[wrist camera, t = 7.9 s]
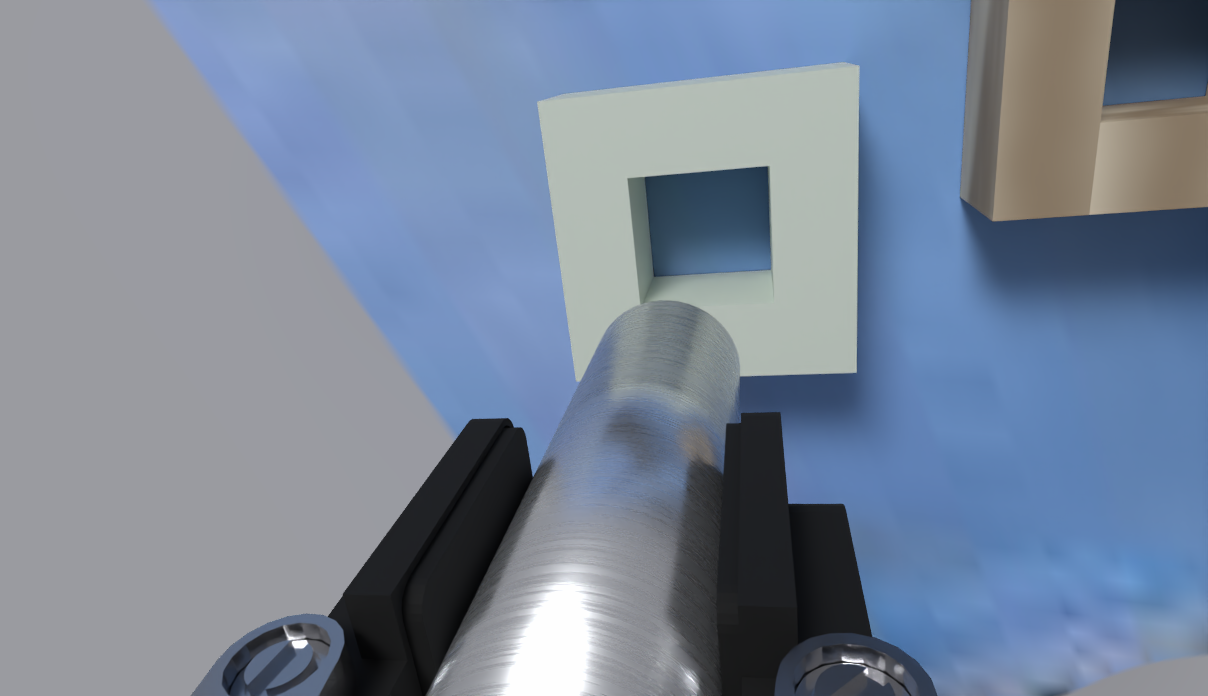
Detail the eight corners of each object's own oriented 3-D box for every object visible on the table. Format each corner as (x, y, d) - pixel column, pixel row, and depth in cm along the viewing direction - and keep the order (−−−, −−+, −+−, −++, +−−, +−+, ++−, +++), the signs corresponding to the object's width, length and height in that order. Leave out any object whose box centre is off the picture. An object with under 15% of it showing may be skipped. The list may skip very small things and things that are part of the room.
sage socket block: (843, 62, 26) (859, 65, 22) (843, 331, 30) (856, 372, 26) (564, 93, 28) (537, 101, 24) (596, 342, 32) (576, 381, 28)
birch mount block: (1359, -184, 21) (1485, -230, 18) (1284, 172, 25) (1376, 195, 21) (978, -124, 23) (1020, -155, 20) (959, 196, 27) (992, 221, 23)
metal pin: (736, 296, 15) (718, 708, 6) (743, 431, 16) (738, 961, 7) (588, 304, 15) (355, 687, 6) (604, 434, 16) (425, 923, 7)
